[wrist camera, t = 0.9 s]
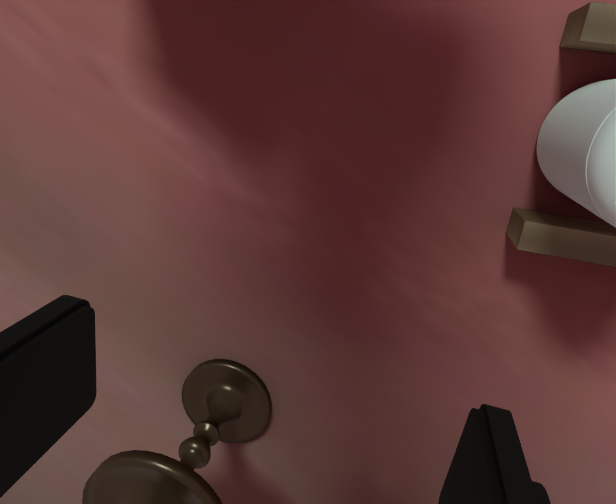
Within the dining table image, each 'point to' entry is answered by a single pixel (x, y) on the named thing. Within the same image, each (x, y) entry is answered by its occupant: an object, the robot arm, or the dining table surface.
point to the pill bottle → (583, 148)
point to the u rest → (561, 229)
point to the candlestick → (188, 441)
